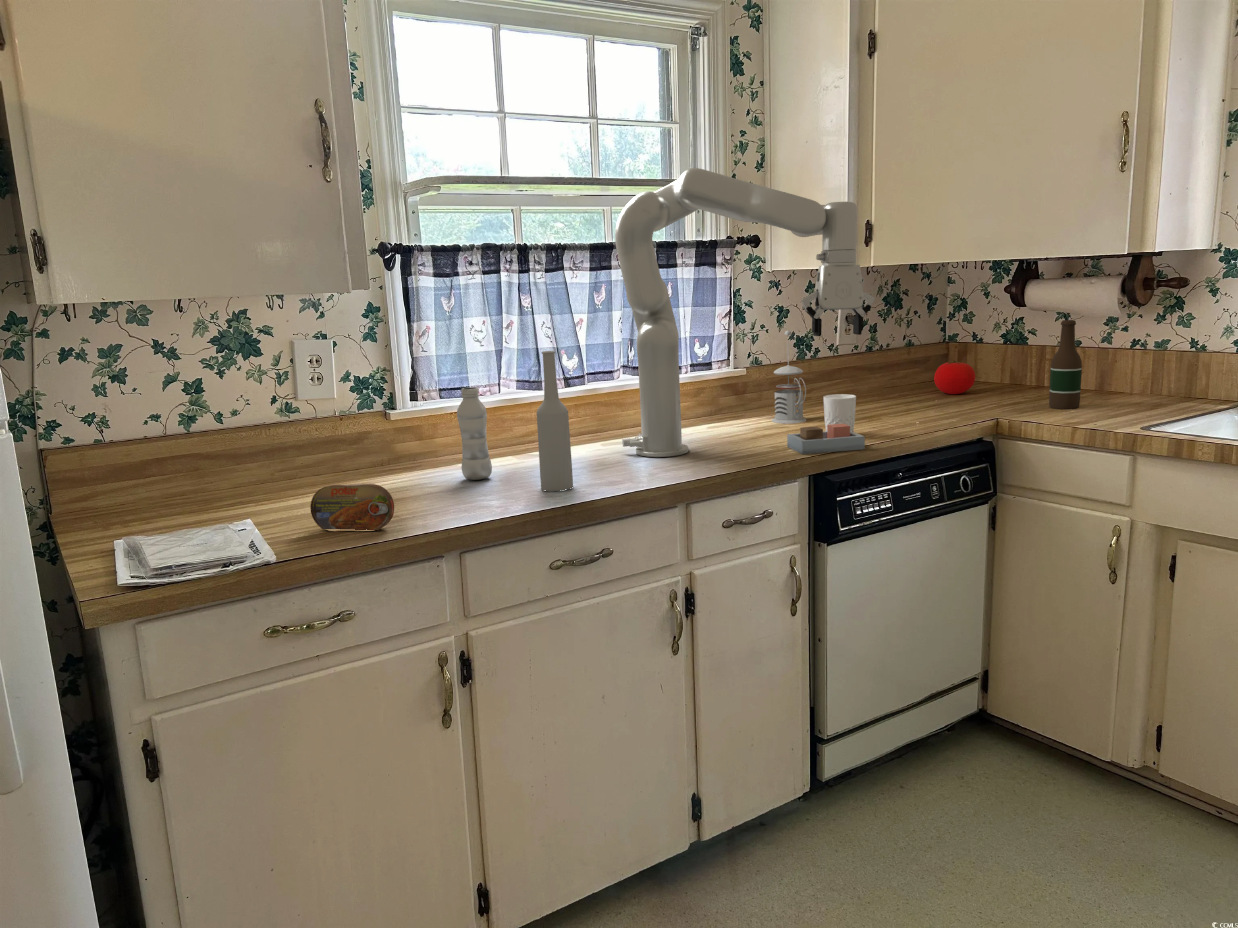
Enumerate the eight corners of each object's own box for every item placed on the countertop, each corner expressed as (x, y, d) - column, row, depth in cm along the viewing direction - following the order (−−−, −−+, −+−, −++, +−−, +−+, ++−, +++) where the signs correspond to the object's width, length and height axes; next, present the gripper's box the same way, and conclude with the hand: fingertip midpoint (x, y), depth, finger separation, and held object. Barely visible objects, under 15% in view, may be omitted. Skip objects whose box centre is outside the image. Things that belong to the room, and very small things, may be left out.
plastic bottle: (479, 483, 194) (472, 390, 190) (456, 481, 197) (447, 389, 193) (499, 477, 199) (492, 386, 195) (475, 475, 203) (468, 386, 199)
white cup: (856, 438, 223) (856, 398, 221) (823, 439, 224) (823, 399, 222) (855, 433, 230) (855, 393, 228) (823, 433, 232) (823, 394, 230)
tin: (312, 532, 162) (306, 486, 160) (320, 527, 165) (315, 482, 163) (391, 532, 159) (386, 485, 158) (398, 527, 162) (394, 481, 161)
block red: (833, 444, 212) (833, 427, 211) (827, 441, 216) (827, 424, 215) (850, 442, 212) (850, 426, 212) (843, 440, 216) (843, 423, 215)
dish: (802, 454, 207) (802, 441, 207) (787, 446, 217) (787, 434, 216) (864, 449, 209) (864, 436, 209) (846, 441, 219) (846, 429, 219)
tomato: (930, 392, 295) (931, 359, 292) (969, 390, 293) (970, 358, 291) (938, 396, 284) (939, 363, 282) (979, 395, 282) (980, 361, 280)
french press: (792, 416, 260) (792, 328, 255) (818, 421, 250) (817, 330, 245) (764, 420, 256) (762, 331, 251) (788, 425, 246) (787, 332, 241)
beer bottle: (1081, 405, 253) (1086, 319, 249) (1077, 410, 247) (1082, 321, 242) (1050, 404, 258) (1054, 319, 253) (1046, 408, 251) (1050, 321, 246)
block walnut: (806, 447, 210) (806, 430, 209) (800, 444, 214) (800, 427, 213) (823, 446, 210) (822, 429, 210) (816, 443, 214) (816, 426, 213)
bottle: (552, 493, 182) (542, 353, 176) (535, 488, 187) (525, 352, 181) (579, 487, 185) (571, 350, 180) (562, 482, 191) (553, 349, 185)
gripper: (808, 259, 200) (807, 337, 203) (882, 257, 203) (880, 334, 206) (796, 260, 207) (795, 335, 211) (868, 258, 210) (866, 332, 213)
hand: (837, 335), depth 208 cm, fingers open, 9 cm apart
